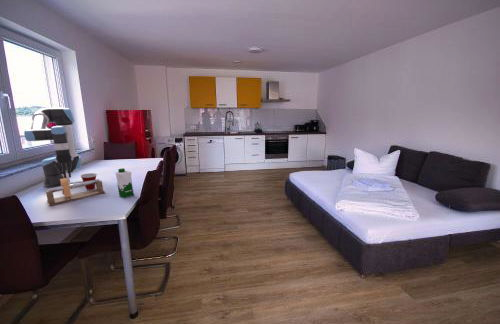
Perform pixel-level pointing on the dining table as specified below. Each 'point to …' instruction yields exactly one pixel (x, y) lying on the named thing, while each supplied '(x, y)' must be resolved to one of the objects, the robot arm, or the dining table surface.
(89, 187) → the plastic cup
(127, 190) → the milk carton
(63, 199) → the pipe stand
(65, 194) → the collar
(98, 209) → the dining table surface
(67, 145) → the robot arm
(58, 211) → the dining table surface
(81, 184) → the steel pipe
